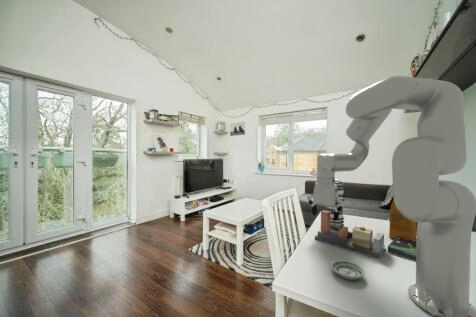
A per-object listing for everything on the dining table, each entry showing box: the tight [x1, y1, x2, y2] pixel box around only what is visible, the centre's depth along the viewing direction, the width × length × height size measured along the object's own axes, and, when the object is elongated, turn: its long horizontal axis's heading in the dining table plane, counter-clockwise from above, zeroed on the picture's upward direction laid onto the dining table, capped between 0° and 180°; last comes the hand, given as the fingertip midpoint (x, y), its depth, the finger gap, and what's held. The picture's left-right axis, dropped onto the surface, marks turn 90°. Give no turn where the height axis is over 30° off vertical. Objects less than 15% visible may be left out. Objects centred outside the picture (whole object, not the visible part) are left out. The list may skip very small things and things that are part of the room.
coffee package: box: [388, 199, 419, 241], centre depth 91 cm, size 10×12×22 cm
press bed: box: [314, 227, 386, 259], centre depth 86 cm, size 11×24×6 cm, turn 44°
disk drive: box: [387, 237, 417, 261], centre depth 79 cm, size 10×3×15 cm
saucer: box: [329, 259, 366, 280], centre depth 64 cm, size 10×10×2 cm
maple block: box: [352, 225, 374, 249], centre depth 82 cm, size 5×6×7 cm
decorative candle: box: [325, 180, 346, 229], centre depth 100 cm, size 9×9×25 cm
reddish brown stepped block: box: [320, 210, 349, 238], centre depth 90 cm, size 7×10×10 cm
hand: (324, 217), depth 93 cm, fingers open, 9 cm apart
